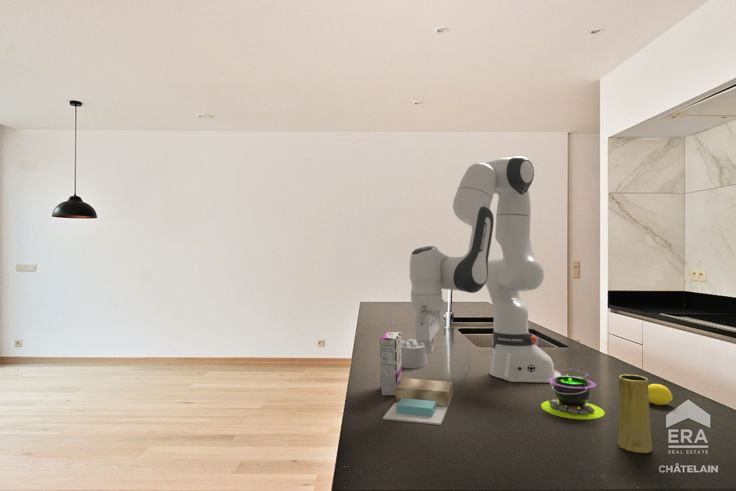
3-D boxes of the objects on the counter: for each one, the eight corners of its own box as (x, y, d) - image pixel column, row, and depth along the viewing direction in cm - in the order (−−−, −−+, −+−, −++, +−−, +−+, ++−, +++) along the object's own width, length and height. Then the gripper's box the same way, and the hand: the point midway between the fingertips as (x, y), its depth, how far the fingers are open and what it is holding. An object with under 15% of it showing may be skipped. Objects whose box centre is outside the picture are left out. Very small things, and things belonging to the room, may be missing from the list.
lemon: (669, 404, 124) (672, 384, 123) (673, 410, 119) (676, 390, 118) (639, 398, 126) (642, 378, 126) (642, 403, 121) (645, 383, 121)
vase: (611, 442, 97) (610, 374, 98) (639, 441, 98) (637, 373, 98) (630, 454, 91) (629, 382, 92) (659, 453, 92) (658, 381, 92)
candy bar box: (386, 385, 142) (385, 331, 142) (402, 385, 141) (401, 332, 141) (379, 395, 131) (379, 337, 131) (397, 396, 130) (396, 338, 130)
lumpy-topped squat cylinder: (428, 361, 174) (427, 338, 174) (423, 369, 162) (423, 344, 162) (400, 359, 177) (400, 337, 177) (394, 367, 164) (394, 343, 164)
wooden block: (452, 396, 130) (452, 381, 130) (448, 407, 121) (448, 391, 121) (404, 392, 134) (404, 378, 134) (396, 402, 125) (396, 387, 125)
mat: (447, 408, 119) (447, 407, 119) (440, 425, 108) (440, 423, 108) (394, 404, 123) (394, 402, 123) (383, 419, 112) (383, 417, 112)
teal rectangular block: (432, 408, 112) (432, 416, 112) (436, 401, 118) (436, 409, 118) (396, 405, 115) (396, 413, 115) (401, 398, 121) (401, 405, 121)
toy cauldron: (528, 405, 122) (527, 363, 123) (569, 397, 128) (569, 358, 129) (574, 423, 109) (573, 376, 109) (618, 414, 115) (617, 370, 115)
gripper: (432, 308, 120) (435, 361, 120) (442, 299, 140) (445, 344, 140) (408, 308, 122) (411, 361, 122) (422, 299, 142) (424, 344, 142)
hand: (429, 352), depth 131 cm, fingers closed
